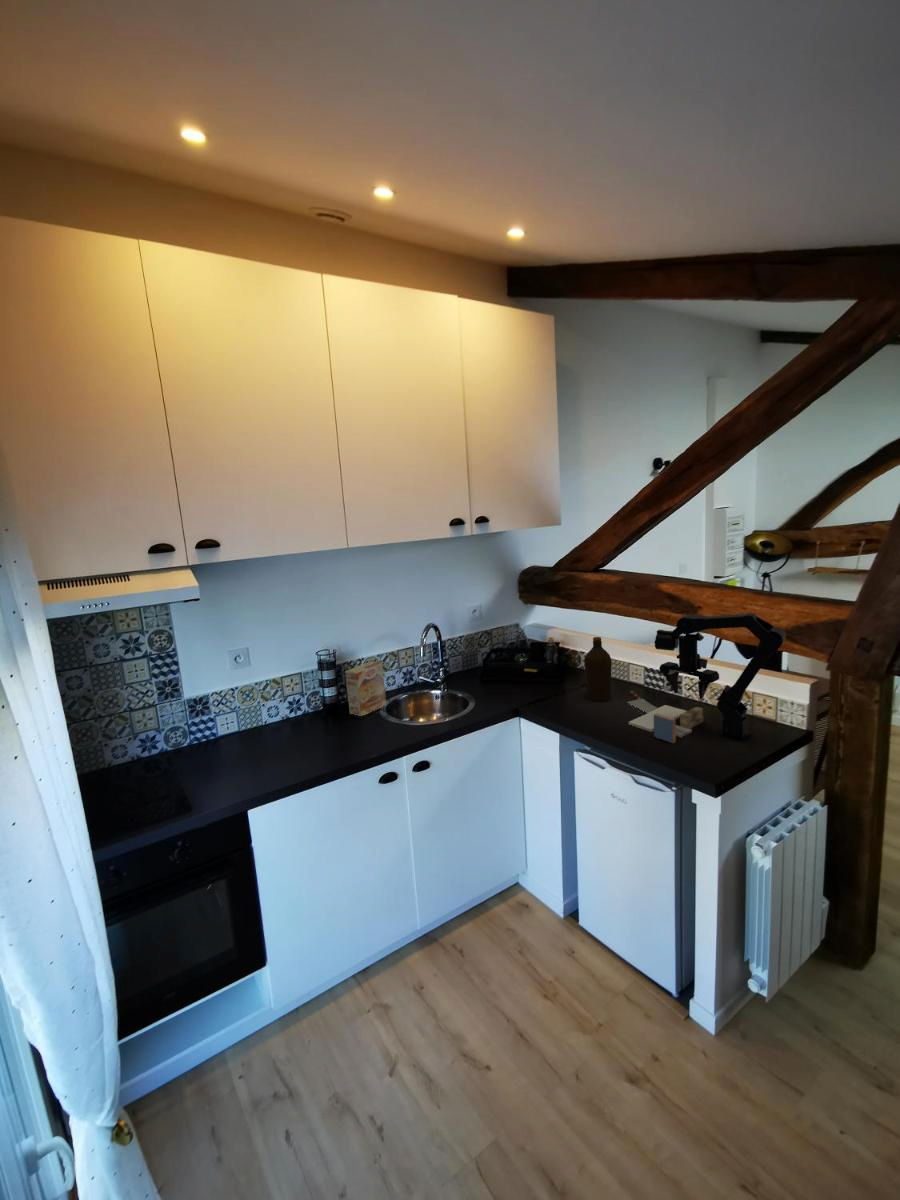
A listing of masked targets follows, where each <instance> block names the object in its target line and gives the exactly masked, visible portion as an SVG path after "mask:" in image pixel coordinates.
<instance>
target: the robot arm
mask: <svg viewBox="0 0 900 1200" xmlns="http://www.w3.org/2000/svg"><path fill="white" fill-rule="evenodd" d="M737 628H746V629H747V630H749V632H750V633H751V634H752V635H753V636H754V637H755V638H757V639H758V640H759V643H758V645H757V647H756V651H755V653H754V654H753V656H752V658H751V659H750V661H749V662H748V664H747V665H746V666H745V668H744V669H743V671H742V672H741V674H740V675H739V677H738V678H737V679H736V682H734V684H733V685H732V686H730V685H728V684H727V685H726V686H725V687H724V688H723V690H722V691H721V693H720V694H719V696H718V697H717V698H716V701H717V704H716V707H717V710H718V711H719V712H720V713H721V715H722V717H723V718H722V720H721V732H720V735H721V736H723V737H728V738H730V739H734V740H737V741H741V740H743V739H744V738H746V737H748V736H749V735H750V732H748V717H745V715H746V714H747V711H748V709H749V708H748V707H747V706H746V705H745V704H744V703H743V702H742V701H743V697H744V694H745V692H746V690H747V688H748V687H749V686H750V684H751V682H752V681H753V680H754V678H756V676H757V674H758V673H759V671H760V669H761V668H762V667H763V666H764V664H766V663H765V662H766V661H767V660H768V659H769V658H770V657H771V656H773V654H774V653H776V651H779V649H780V648H781V647H782V645H783V644H784V642H785V640H786V638H787V635H786V632H785V631H784V630H783V628H781V627H779V626H774V625H773V624H771V623H770V622H768V621H766V620H765V619H763V618H760V617H759V616H758V615H756V614H755V613H752V612H748V613H740V614H726V615H725V614H723V615H712V616H711V615H710V616H709V615H708V616H707V615H702V614H694V613H688V614H687V613H686V614H684V615H683V616H681V617H680V618H679V619H678V620H677V622H676V627H675V629H673V630H664V629H658V630H657V631H656V636H655V639H654V647H655V649H656V650H662V651H670V652H671V651H672V652H674V651H675V649H678V654H677V655H676V659H678V662H679V663H676V662H672V661H666V662H664V663H661V665H659V669H658V670H659V673H660V674H662V676H663V677H665V678H666V680H667V681H668V683H669V684H670V686H671V689H672V690H673V692H674V694H678V693H679V692H678V691H679V679H678V678H679V675H680V674H682V675H683V674H684V675H689V676H692V677H698V680H699V681H698V682H697V687H698V695H699V699H700V700H703V699H704V697H705V695H706V692H707V689H708V687H709V686H710V684H712V683H714V682H716V681H718V680H720V673H719V672H718V670H714V669H708V668H707V665H708V659H706V658H701V655H700V654H699V653H698V642H701V641H703V640H704V639H705V636H704V635H702V634H701V633H700V632H701V631H706V630H715V629H719V630H720V629H737ZM702 669H704V670H703V671H699V670H702Z"/></svg>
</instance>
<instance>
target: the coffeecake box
mask: <svg viewBox="0 0 900 1200" xmlns="http://www.w3.org/2000/svg"><path fill="white" fill-rule="evenodd" d="M383 666H384V665H383V663H382V662H378V661H368V662H366V663H363V664H360V665H358V666H356V667H352V668H350V669H347V670H345V671H344V673H345V680H346V689H347V698H348V709H349V715H350V714H354V715H358V716H363V715H366V714H368V713H370V712H372V711H375V710H377V709H379V708H381V707H383V706H384V705H386V706H387V699H386V698H387V697H386V687H385V679H384V667H383Z"/></svg>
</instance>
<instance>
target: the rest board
mask: <svg viewBox="0 0 900 1200" xmlns="http://www.w3.org/2000/svg"><path fill="white" fill-rule="evenodd" d="M657 708H658V709H655V710H653V711H651V712H649V713H647V714H645V715H643V714H642V715H641V716H639V717H636V718H634V719H631V720H630V721H628V725H629V726H631V725H632V727H634V726H635V728H637V729H640V730H641V729H642V730H644V731H647V732H650V733H652V732H654V714H656V713H657V714H661V715H664V716H668V717H671V718H674V719H676V720H677V718H678V719H680V718H679V717H680V715H681V714H683V713H685V712H687V711H688V710H685V709H682V708H678V707H674V706H671V705H667V704H664V705H662V706H660V707H657Z"/></svg>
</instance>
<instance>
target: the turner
mask: <svg viewBox="0 0 900 1200" xmlns="http://www.w3.org/2000/svg"><path fill="white" fill-rule="evenodd" d="M686 711H687V712H685V713H683V714H681V715H680V718H679V725H677V724H676V737H679V738H683V736H684V737H685V736H688V735H689V734H690V733H692V732H693V731H692V729H693V728H694V726H695V727H697V726H699V725H700V724H702V723H704V708H702V707H698V706H695V707H693V708H691V709H689V710H686ZM701 722H702V723H701ZM696 725H697V726H696ZM692 727H693V728H692Z"/></svg>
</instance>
